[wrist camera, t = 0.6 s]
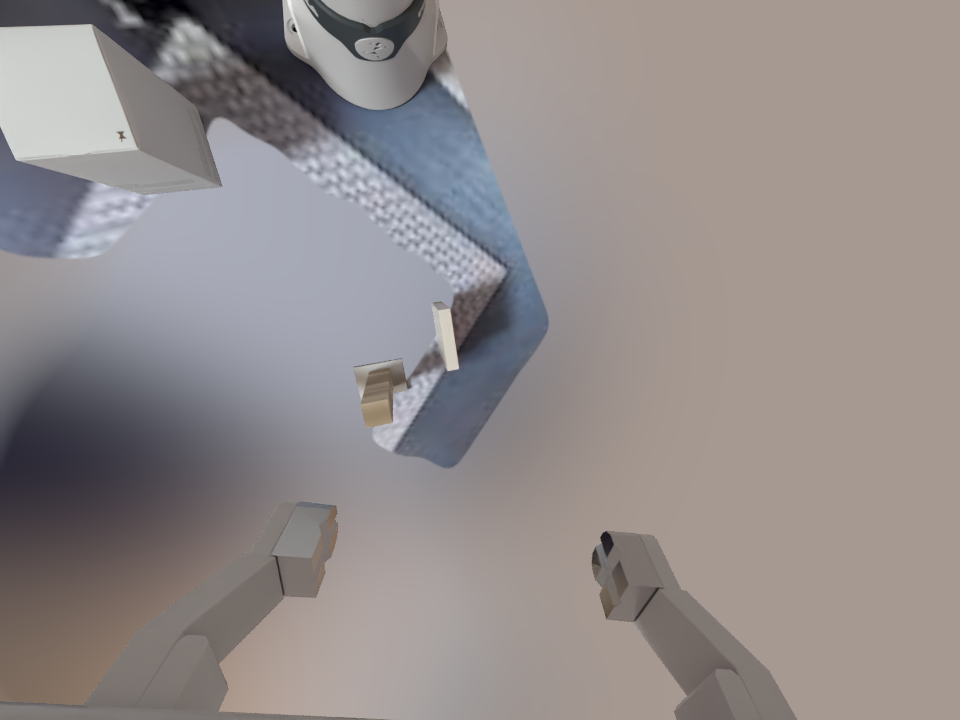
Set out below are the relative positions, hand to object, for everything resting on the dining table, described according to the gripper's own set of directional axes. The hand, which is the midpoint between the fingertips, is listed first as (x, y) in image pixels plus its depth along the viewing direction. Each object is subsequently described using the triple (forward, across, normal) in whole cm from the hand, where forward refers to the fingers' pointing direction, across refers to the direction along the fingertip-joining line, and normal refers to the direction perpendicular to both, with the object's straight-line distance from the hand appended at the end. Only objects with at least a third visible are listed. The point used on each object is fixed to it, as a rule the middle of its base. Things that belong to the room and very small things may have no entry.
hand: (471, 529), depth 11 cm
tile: (+42, +3, +13) cm, 45 cm away
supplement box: (+42, +37, -5) cm, 56 cm away
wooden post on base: (+39, +11, +21) cm, 46 cm away
